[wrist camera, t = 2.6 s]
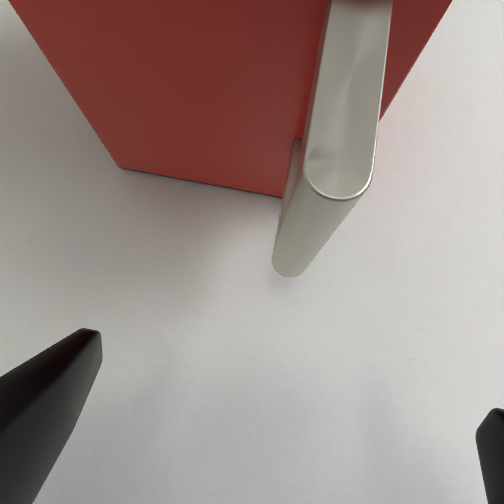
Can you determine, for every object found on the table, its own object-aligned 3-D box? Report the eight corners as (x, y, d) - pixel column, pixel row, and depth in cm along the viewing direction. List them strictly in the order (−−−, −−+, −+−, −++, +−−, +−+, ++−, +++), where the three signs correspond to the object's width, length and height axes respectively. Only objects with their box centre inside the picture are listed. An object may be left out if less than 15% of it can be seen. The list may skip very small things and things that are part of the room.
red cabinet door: (315, 301, 20) (454, 206, 7) (90, 259, 20) (-183, 90, 7) (331, 192, 21) (470, -53, 8) (121, 154, 21) (-57, -143, 9)
